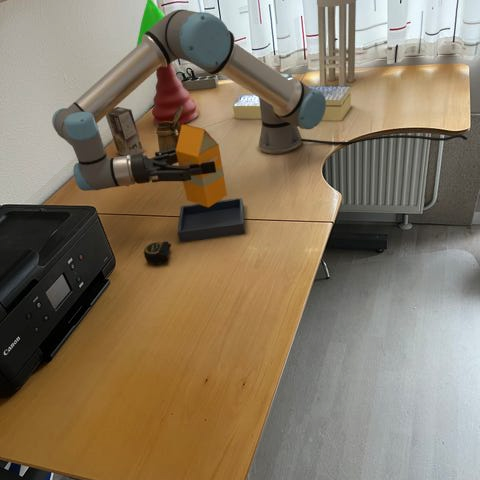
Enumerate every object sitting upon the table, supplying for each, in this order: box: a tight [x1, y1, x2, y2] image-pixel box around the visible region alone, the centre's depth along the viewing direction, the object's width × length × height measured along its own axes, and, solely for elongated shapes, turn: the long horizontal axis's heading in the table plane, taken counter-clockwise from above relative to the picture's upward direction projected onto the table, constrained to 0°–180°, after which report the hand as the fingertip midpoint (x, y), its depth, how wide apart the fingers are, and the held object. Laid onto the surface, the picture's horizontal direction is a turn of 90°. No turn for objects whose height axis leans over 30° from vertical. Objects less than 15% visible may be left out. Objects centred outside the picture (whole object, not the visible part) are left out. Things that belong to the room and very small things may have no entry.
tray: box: [176, 197, 246, 243], centre depth 139 cm, size 19×15×3 cm
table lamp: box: [136, 0, 199, 126], centre depth 195 cm, size 20×20×45 cm
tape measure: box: [143, 240, 172, 265], centre depth 130 cm, size 7×7×4 cm
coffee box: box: [105, 106, 144, 157], centre depth 183 cm, size 9×6×16 cm
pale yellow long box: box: [232, 85, 352, 122], centre depth 192 cm, size 45×15×10 cm, turn 66°
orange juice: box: [176, 124, 228, 207], centre depth 128 cm, size 8×9×20 cm
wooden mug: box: [155, 105, 183, 152], centre depth 175 cm, size 9×14×18 cm, turn 68°
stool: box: [316, 0, 357, 87], centre depth 201 cm, size 16×16×35 cm
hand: (215, 158), depth 127 cm, fingers closed on orange juice, 10 cm apart
